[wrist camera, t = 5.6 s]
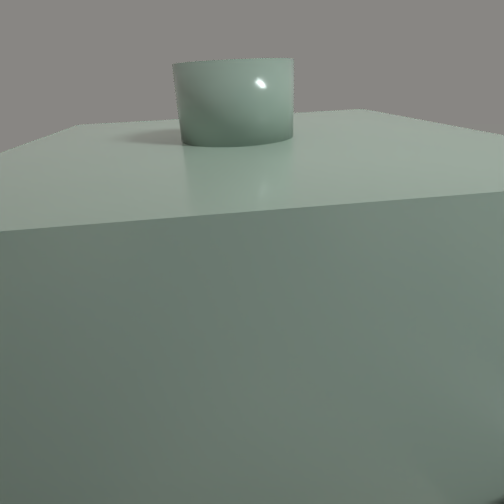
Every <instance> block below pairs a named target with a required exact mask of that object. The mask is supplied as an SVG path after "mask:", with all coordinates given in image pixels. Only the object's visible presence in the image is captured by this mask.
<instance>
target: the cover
mask: <svg viewBox="0 0 504 504" xmlns="http://www.w3.org/2000/svg"><path fill="white" fill-rule="evenodd" d="M172 67H173V75H174V83H175V92H176V100H177V107H178V115H179V119H176V120H158V121H141V122H140V121H139V122H121V123H104V124H85V125H76V126H74V127H71V128H68V129H65V130H63V131H60V132H57V133H54V134H51V135H49V136H46V137H43V138H40V139H38V140H35V141H32V142H29V143H26V144H24V145H21V146H18V147H15V148H12V149H10V150H7V151H4V152H2V153H0V504H504V135H499V134H494V133H488V132H483V131H477V130H472V129H467V128H462V127H456V126H451V125H445V124H440V123H435V122H429V121H423V120H419V119H413V118H408V117H403V116H397V115H392V114H387V113H381V112H376V111H371V110H365V109H356V110H340V111H339V110H338V111H321V112H303V113H293V108H294V105H293V104H294V103H293V102H294V59H290V58H262V59H261V58H260V59H234V60H233V59H232V60H212V61H198V62H185V63H177V64H173V65H172Z"/></svg>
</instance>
